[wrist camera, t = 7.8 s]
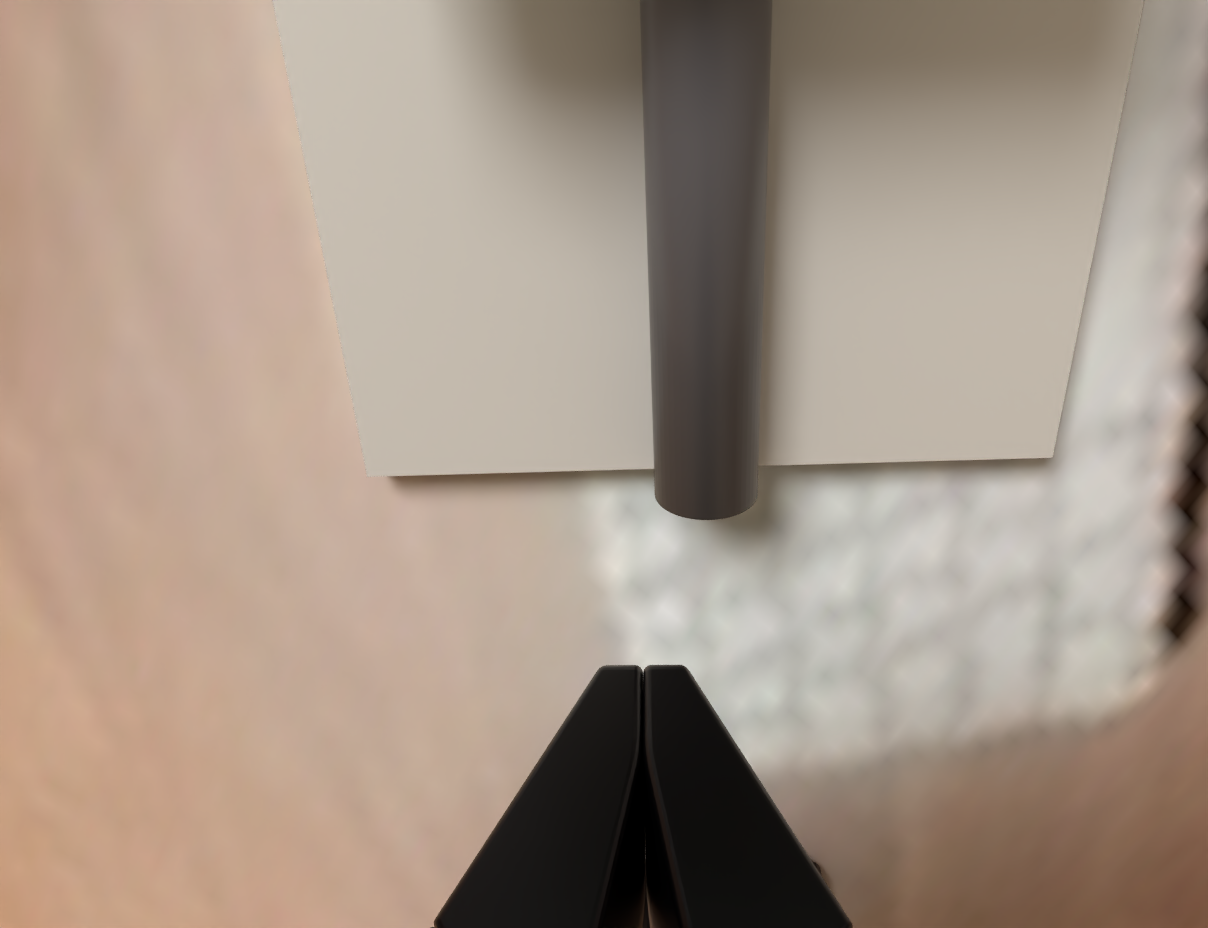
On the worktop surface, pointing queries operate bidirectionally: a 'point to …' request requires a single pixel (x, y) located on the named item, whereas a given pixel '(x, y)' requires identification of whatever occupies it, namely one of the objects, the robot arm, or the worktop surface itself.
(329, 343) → the worktop surface
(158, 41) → the worktop surface
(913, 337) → the board
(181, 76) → the worktop surface
